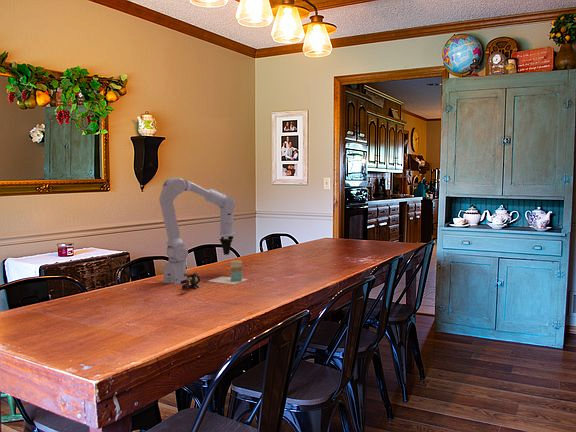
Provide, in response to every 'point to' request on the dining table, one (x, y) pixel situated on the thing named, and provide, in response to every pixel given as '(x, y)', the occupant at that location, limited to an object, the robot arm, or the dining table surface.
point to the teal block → (236, 276)
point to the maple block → (236, 266)
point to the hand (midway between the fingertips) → (226, 253)
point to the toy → (191, 281)
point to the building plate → (225, 280)
